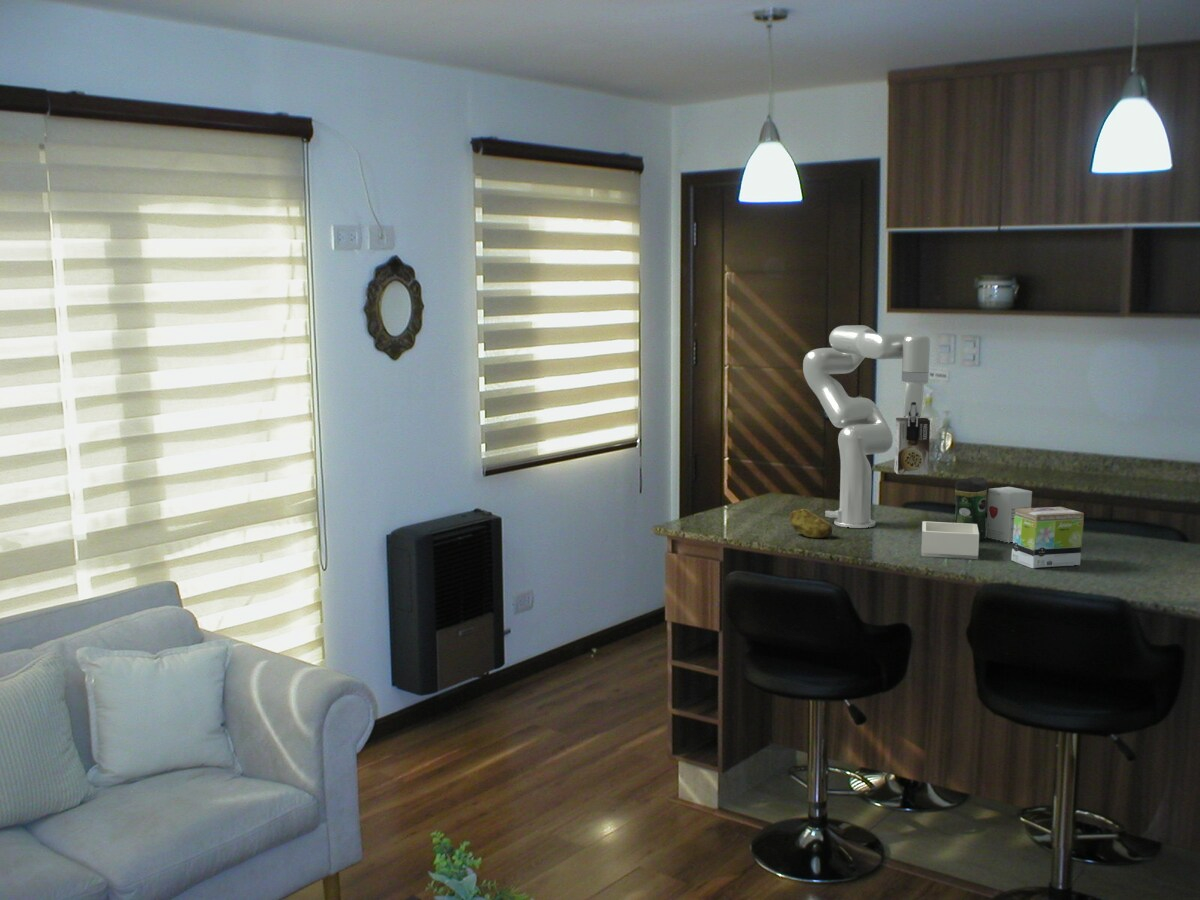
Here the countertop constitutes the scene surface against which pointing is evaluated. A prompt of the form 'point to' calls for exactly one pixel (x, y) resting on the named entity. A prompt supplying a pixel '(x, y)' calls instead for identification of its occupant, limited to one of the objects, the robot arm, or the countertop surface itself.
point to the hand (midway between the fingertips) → (912, 438)
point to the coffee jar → (971, 503)
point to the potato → (809, 524)
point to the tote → (950, 540)
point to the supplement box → (1005, 511)
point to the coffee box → (912, 448)
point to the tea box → (1047, 537)
